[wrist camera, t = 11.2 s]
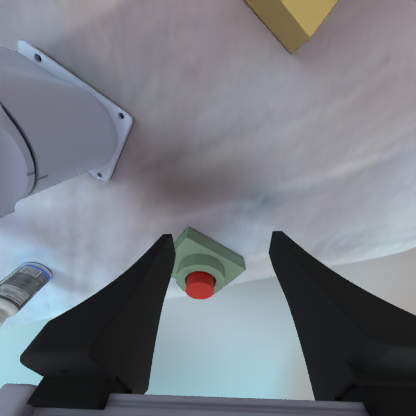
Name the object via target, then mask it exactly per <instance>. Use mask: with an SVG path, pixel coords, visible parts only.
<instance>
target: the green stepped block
mask: <svg viewBox="0 0 416 416" xmlns="http://www.w3.org/2000/svg"><path fill="white" fill-rule="evenodd" d="M174 247H175V252H176V258H175V263H174V268H173V272H172V275H171V277H173V278H175V279H176V283H177V285H178V286H179V287H180V288H181V289H182V290H183V291H185V292H186V283H187V277H188V275H189V274H190V273H192V272H195V271H204V272H207V273H209V274H211V275H212V276H213V278H214V293H213V295H214V294H215V293H217V292H218V291H219V290H221V289H222V288H223V287H224V286H226V285H227V284H228V283H229V282H231V281H232V280H233V279H235V278H236V277H237V276H239V275H240V274H241V273H242V272H244V271H245V270H246V268H245V263H244V258H243V257H241V256H239V255H237V254H236V253H234V252H232V251H230V250H229V249H227V248H225V247H223V246H222V245H220V244H218V243H216V242H215V241H213V240H211V239H209V238H208V237H206V236H204V235H202V234H201V233H199V232H197V231H195V230H194V229H192V228H190V227H188V228H187V229H186V231H185V232H184V233H183V234H182V235H181V237H180V238H179V239H178V240H177V242H176V243H175V244H174Z"/></svg>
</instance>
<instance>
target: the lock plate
mask: <svg viewBox="0 0 416 416" xmlns="http://www.w3.org/2000/svg"><path fill="white" fill-rule="evenodd" d="M245 1H246V2H247V4H248V5H249V6H250V7H251V8H252V9H253V11H254V12H255V13H256V14H257V15H258V16H259V17H260V19H261V20H262V21H263V22H264V23H265V24H266V26H267V27H268V28H269V29H270V30H271V31H272V33H273V34H274V35H275V36H276V37H277V38H278V39H279V41H280V42H281V43H282V44H283V45H284V46H285V48H286V49H287V50H288V51H289V52H290V53H293V52H294V51H295V50H296V49H297V48H299V47H300V46H301V45H302V44H304V43H305V42H306V41H307V40H308V39H310V38H311V37H312V35H313V34H314V33H315V31H316V30H317V29H318V27H319V26H320V25H321V23H322V22H323V21H324V19H325V18H326V17H327V15H328V14H329V13H330V11H331V10H332V9H333V7H334V6H335V4H336V3H337V2H338V0H245Z"/></svg>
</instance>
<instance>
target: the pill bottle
mask: <svg viewBox="0 0 416 416" xmlns="http://www.w3.org/2000/svg"><path fill="white" fill-rule="evenodd" d="M51 278H52V274H51V272H50V271H49V270H48V269H47V268H46V267H44V266H43V265H40V264H37V263H25V264H23V265H21V266H20V267H19V268H17V269H16V270H15V271H13V272H12V273H11V274H10V275H8V276H7V277H6V278H5V279H3V280H2V281H1V282H0V325H1V324H3V323H4V321H5V320H6V318H7V317H11V316H13V315H15V314H16V313H17V312H18V311H19V310H20V309H21V308H22V307H23V306H24V305H25V304H26V303H27V302H28V301H29V300H30V299H31V298H32V297H33V296H34V295H35V294H36V293H37V292H38V291H39V290H40V289H41V288H42V287H43V286H44V285H45V284H46V283H47V282H48V281H49V280H50V279H51Z"/></svg>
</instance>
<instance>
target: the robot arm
mask: <svg viewBox="0 0 416 416" xmlns="http://www.w3.org/2000/svg"><path fill="white" fill-rule="evenodd" d="M39 56H40V57H41V59H42V61H40V60H39ZM121 113H122V114H123V115H124V118H123V119H122V118H121V116H120V114H121ZM132 124H133V118H132V116H131V115H130V114H128V113H127V112H126V111H124V110H123V109H121V108H120V107H118V106H117V105H116V104H114V103H113V102H111V101H110V100H109V99H107V98H106V97H104V96H103V95H102V94H100V93H99V92H97V91H96V90H95V89H93V88H92V87H90V86H89V85H88V84H86V83H85V82H83V81H82V80H81V79H79V78H78V77H76V76H75V75H74V74H72V73H71V72H69V71H68V70H66V69H65V68H64V67H62V66H61V65H59V64H58V63H57V62H55V61H54V60H52V59H51V58H50V57H48V56H47V55H45V54H44V53H43V52H41V51H40V50H38V49H37V48H36V47H34V46H33V45H31V44H30V43H28V42H26V41H24V40H19V41H18V45H17V52H15V51H12V50H9V49H6V48H3V47H0V218H1V217H4V216H6V215H8V214H10V213H12V212H14V206H15V204H16V203H17V202H18V201H19V200H21V199H23V198H26V197H28V196H31V195H33V194H35V193H37V192H40V191H42V190H44V189H47V188H49V187H51V186H54V185H56V184H58V183H61V182H63V181H65V180H68V179H70V178H72V177H75V176H77V175H79V174H82V173H84V172H88V173H90V174H92V175H93V176H95V177H97V178H99V179H101V180H102V181H105V182H107V181H109V180H110V178H111V175H112V173H113V171H114V168H115V166H116V163H117V161H118V158H119V156H120V153H121V151H122V149H123V146H124V144H125V141H126V139H127V136H128V134H129V131H130V129H131V126H132ZM99 173H101V174H102V176H101V175H100V174H99ZM269 255H270V259H271V262H272V266H273V268H274V271H275V273H276V276H277V278H278V280H279V282H280V285H281V287H282V290H283V292H284V294H285V297H286V299H287V302H288V305H289V308H290V310H291V314H292V317H293V320H294V323H295V327H296V330H297V333H298V337H299V340H300V344H301V347H302V351H303V355H304V358H305V361H306V365H307V370H308V373H309V378H310V381H311V385H312V390H313V394H314V398H315V401H310V400H282V399H254V398H227V397H226V398H225V397H200V396H172V395H144V393H145V392H146V391H147V390H148V386H149V378H150V372H151V365H152V358H153V353H154V347H155V341H156V336H157V330H158V325H159V320H160V315H161V310H162V306H163V302H164V298H165V295H166V291H167V288H168V285H169V282H170V278H171V275H172V272H173V268H174V263H175V258H176V252H175V247H174V243H173V238H172V234H163V235H162V236H161V237H160V238H159V239H158V240H157V241H156V242H155V243H154V245H153V246H152V247H151V248H150V249H149V250H148V251H147V252H146V253H145V254H144V255H143V256H142V257H141V258H140V259H139V260H138V261H137V262H136V263H135V264H133V265H132V266H131V267H130V268H129V269H128V270H127V271H125V272H124V273H123V274H122V275H120V276H119V277H118V278H117V279H115V280H114V281H113V282H111V283H110V284H109V285H107V286H106V287H104V288H103V289H102V290H100V291H99V292H97V293H96V294H94V295H93V296H91V297H90V298H88V299H87V300H85V301H83V302H82V303H80V304H78V305H77V306H75V307H74V308H72V309H70V310H68V311H66V312H65V313H63V314H61V315H59V316H58V317H56V318H54V319H52V320H51V321H49V322H48V323H47V324H46V325H45V326H44V327H43V329H42V330H41V331H40V332H39V334H38V335H37V336H36V337H35V339H34V340H33V341H32V342H31V343H30V345H29V346H28V347H27V349H26V350H25V351H24V352H23V353H22V355H21V356H20V362H21V363H22V364H23V365H24V366H26V367H27V368H29V369H31V370H33V371H34V372H36V373H38V374H40V375H41V376H43V379H42V380H41V382H40V383H39V385H38V386H35V385H31V384H5V385H3V386H2V388H1V389H0V416H416V316H415V315H413V314H411V313H409V312H407V311H405V310H403V309H400V308H398V307H396V306H394V305H392V304H390V303H388V302H386V301H384V300H382V299H381V298H379V297H376V296H374V295H373V294H371V293H369V292H367V291H365V290H364V289H362V288H360V287H358V286H357V285H355V284H353V283H351V282H350V281H348V280H346V279H345V278H343V277H341V276H340V275H338V274H337V273H335V272H334V271H332V270H331V269H329V268H328V267H326V266H325V265H323V264H322V263H321V262H319V261H318V260H317V259H315V258H314V257H313V256H311V255H310V254H309V253H307V252H306V251H305V250H304V249H302V248H301V247H300V246H299V245H298V244H296V243H295V242H294V241H293V240H292V239H290V238H289V237H288V236H287V235H286V234H285V233H283V232H282V231H273V232H272V238H271V243H270V249H269Z"/></svg>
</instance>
